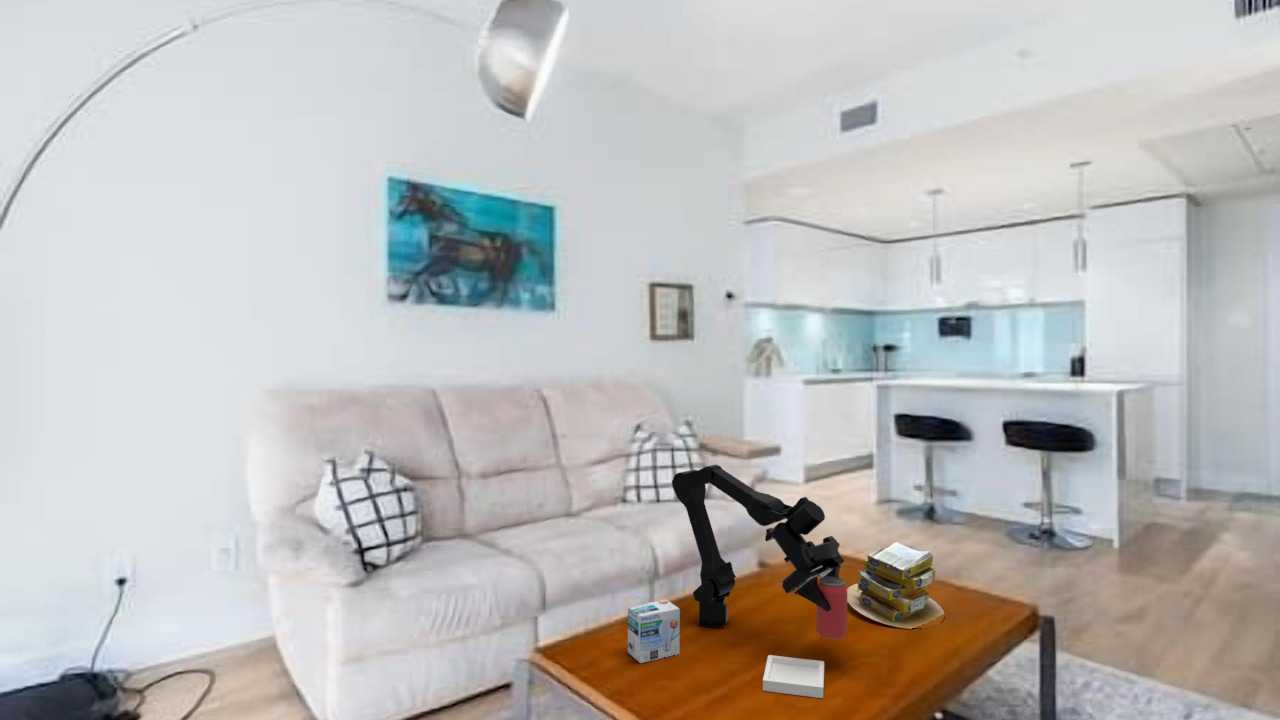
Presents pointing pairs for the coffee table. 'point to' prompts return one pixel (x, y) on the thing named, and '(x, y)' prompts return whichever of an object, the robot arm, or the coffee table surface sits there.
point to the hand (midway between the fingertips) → (837, 606)
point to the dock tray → (794, 676)
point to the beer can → (832, 608)
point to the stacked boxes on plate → (896, 587)
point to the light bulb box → (653, 630)
